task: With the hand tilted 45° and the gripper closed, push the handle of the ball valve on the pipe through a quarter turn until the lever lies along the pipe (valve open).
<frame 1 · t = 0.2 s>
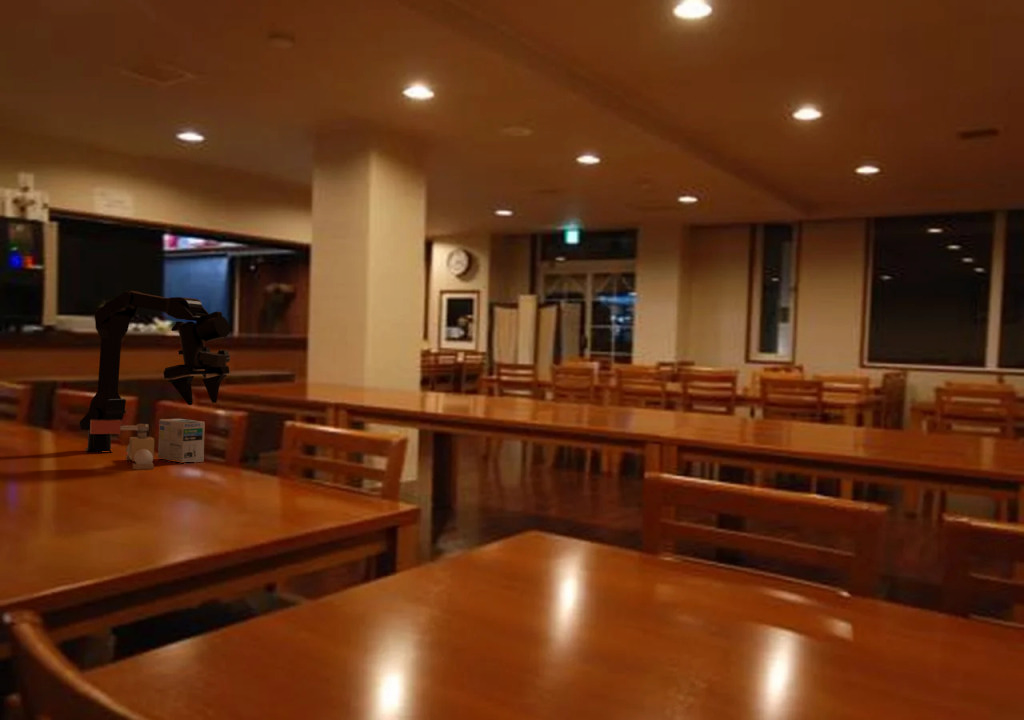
hand: (202, 403, 211), 15 cm above the table, tool pointing down, fingers open, 9 cm apart
light bulb box: (180, 461, 214), on the table
valve lever: (120, 426, 200), point 10 cm above the table, hinge at 0.0°
valve: (140, 466, 203), on the table
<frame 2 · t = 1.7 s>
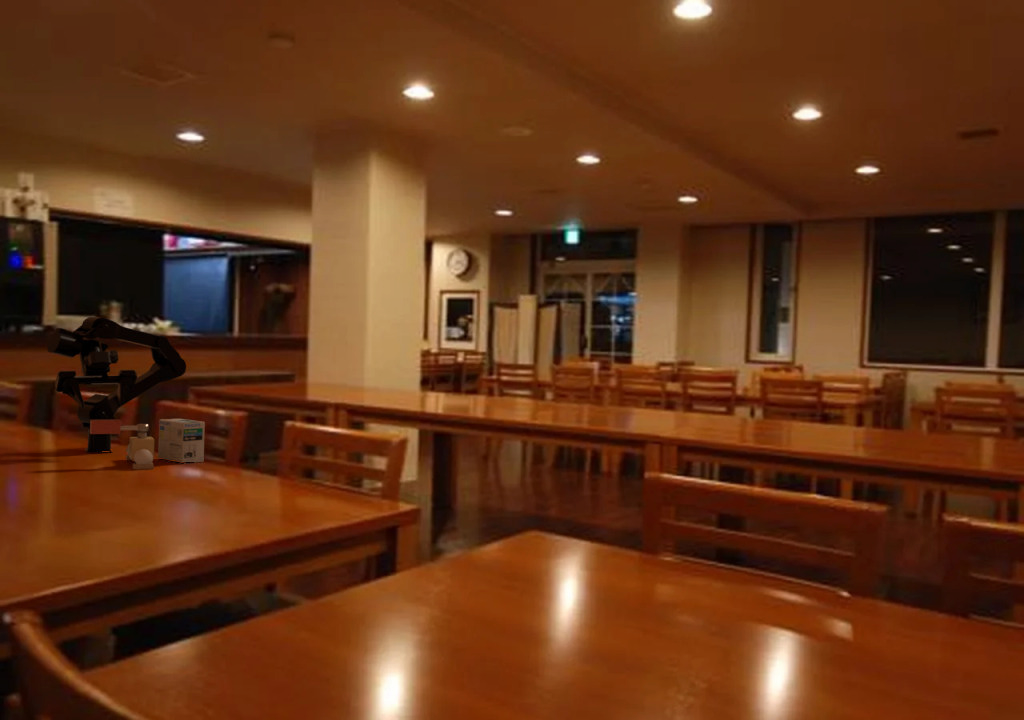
hand: (102, 405, 210), 14 cm above the table, tool tilted 45°, fingers open, 9 cm apart
nothing on the table moved.
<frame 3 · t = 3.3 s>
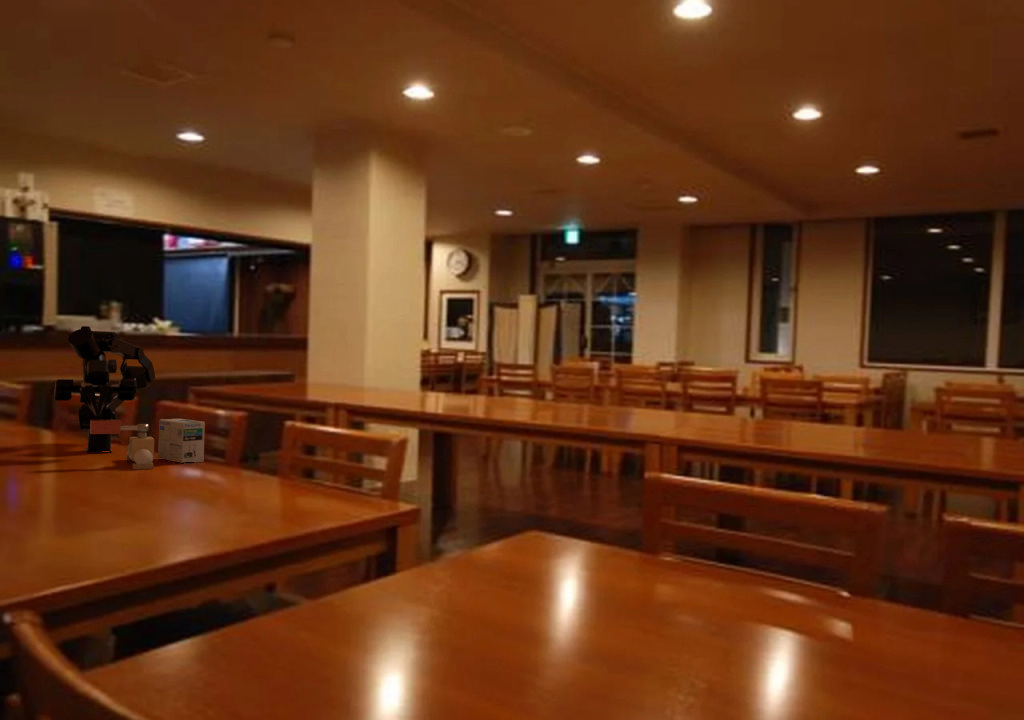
hand: (97, 415, 207), 12 cm above the table, tool tilted 45°, fingers closed
nothing on the table moved.
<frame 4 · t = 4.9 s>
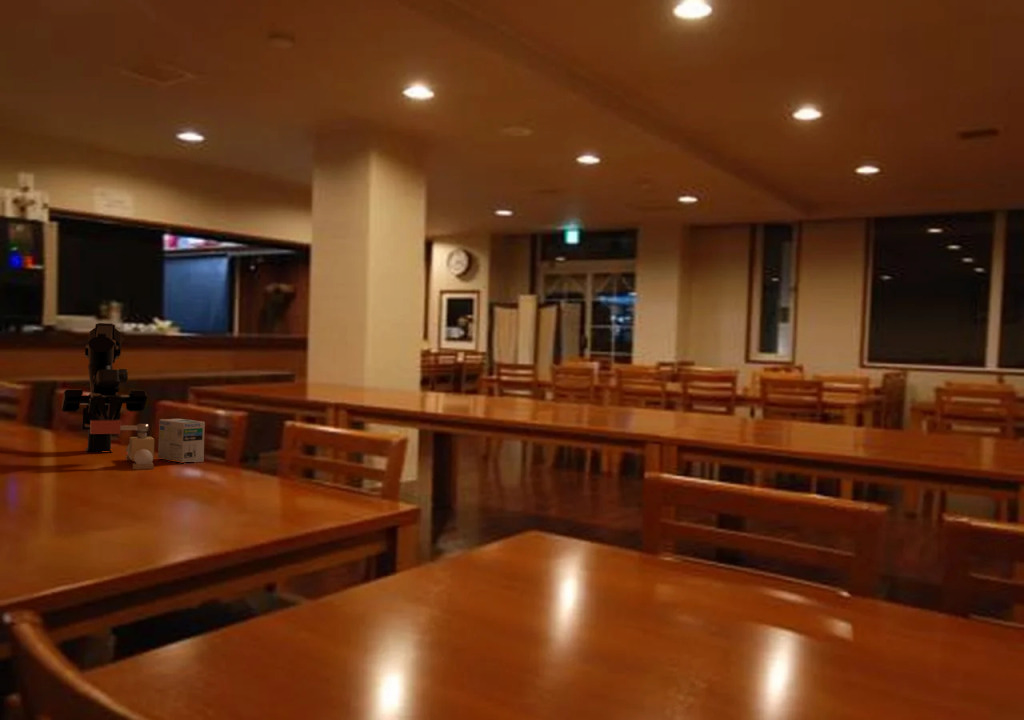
hand: (108, 426, 200), 10 cm above the table, tool tilted 45°, fingers closed, pressing on valve lever
valve lever: (120, 426, 200), point 10 cm above the table, hinge at 0.0°, touching gripper
everything else where it was.
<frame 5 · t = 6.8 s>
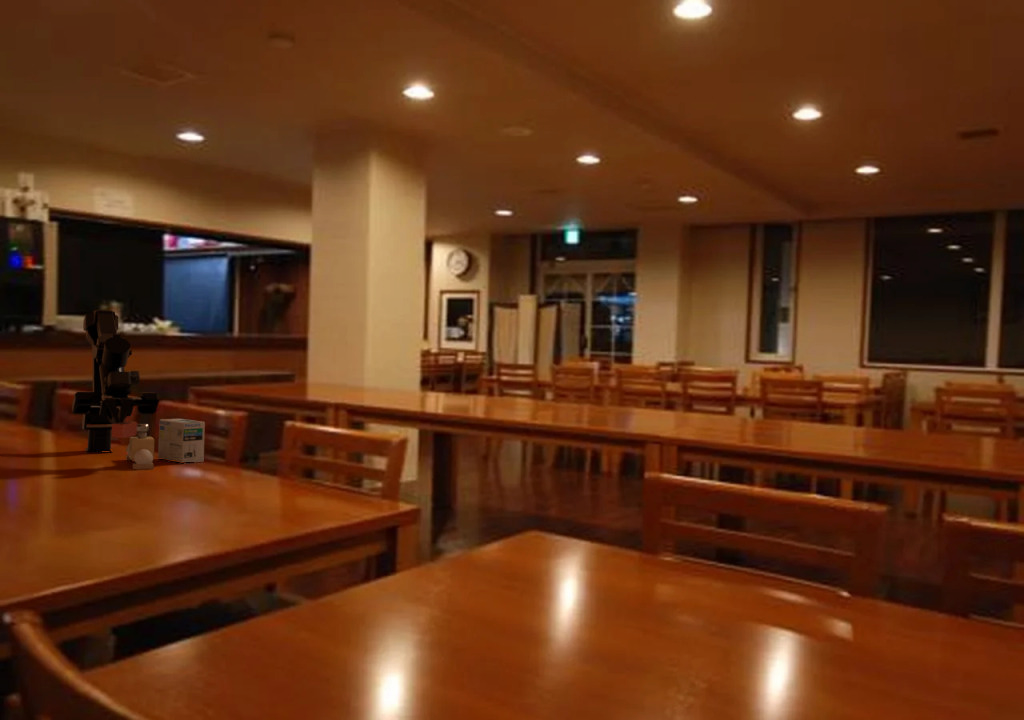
hand: (119, 429, 195), 10 cm above the table, tool tilted 45°, fingers closed
valve lever: (131, 428, 197), point 10 cm above the table, hinge at 54.6°, touching gripper
everything else where it was.
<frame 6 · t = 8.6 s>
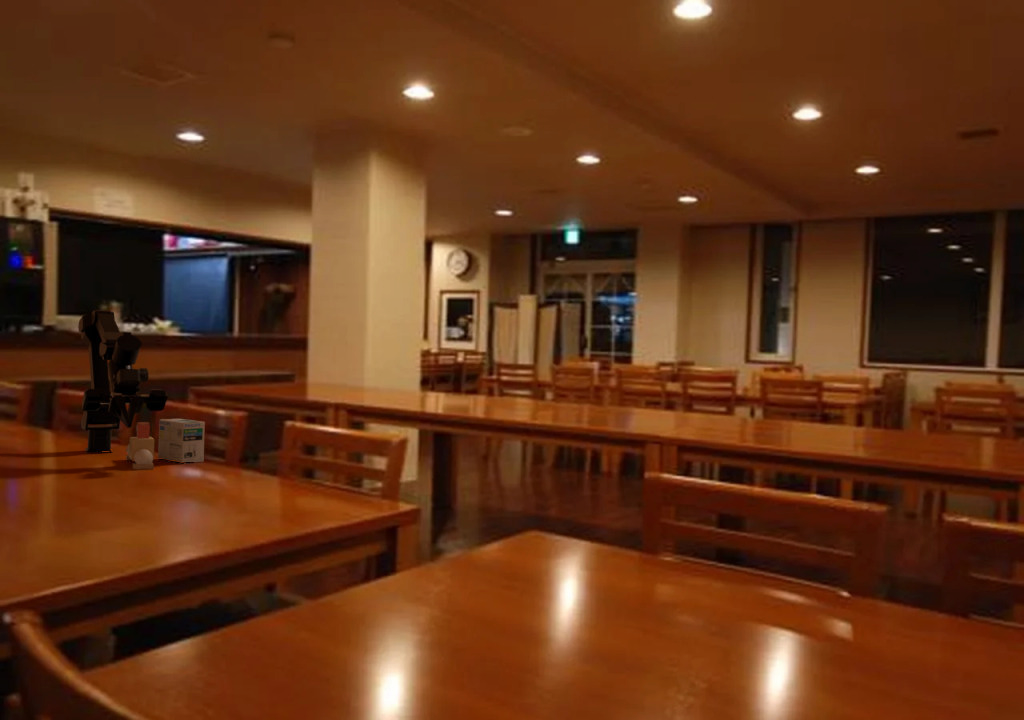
hand: (129, 426, 197), 10 cm above the table, tool tilted 45°, fingers closed
valve lever: (142, 428, 198), point 10 cm above the table, hinge at 83.8°
everything else where it was.
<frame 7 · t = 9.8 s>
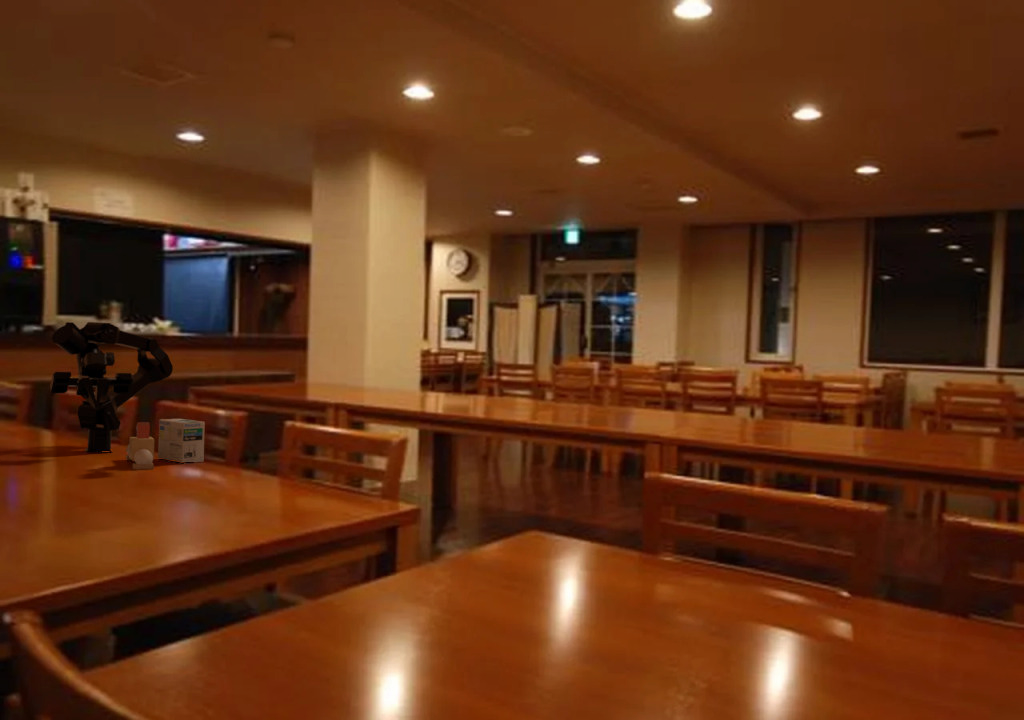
hand: (96, 407, 207), 14 cm above the table, tool tilted 45°, fingers closed
nothing on the table moved.
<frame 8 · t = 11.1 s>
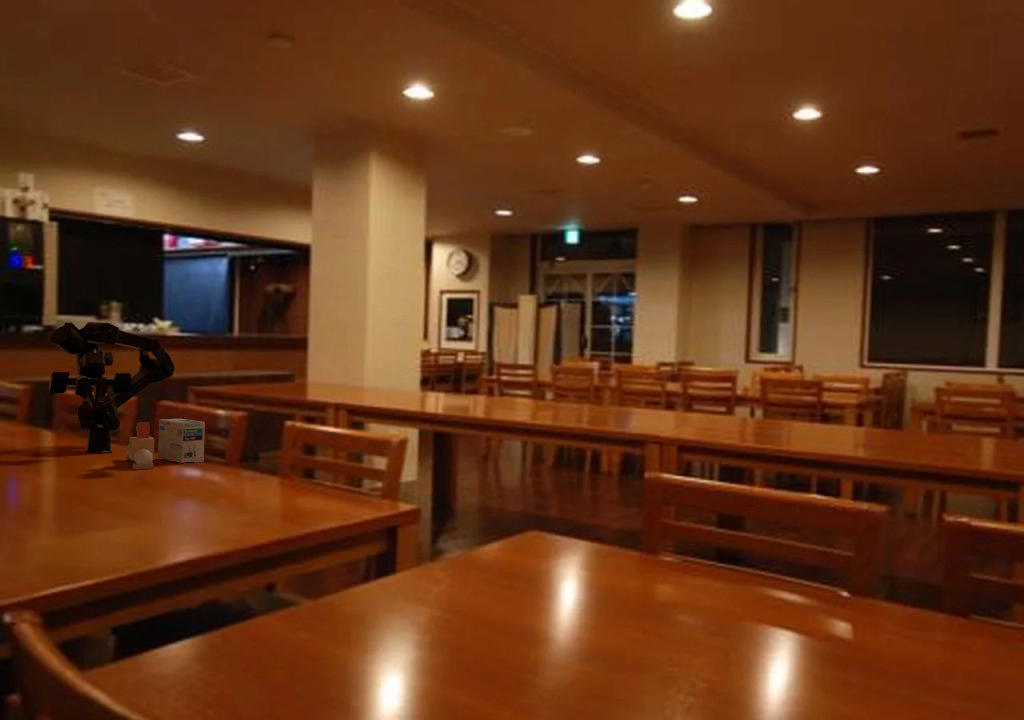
hand: (94, 407, 207), 14 cm above the table, tool tilted 45°, fingers closed
nothing on the table moved.
at the end: valve lever at +84° (first picture: +0°); light bulb box moved 0.3 cm from its start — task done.
